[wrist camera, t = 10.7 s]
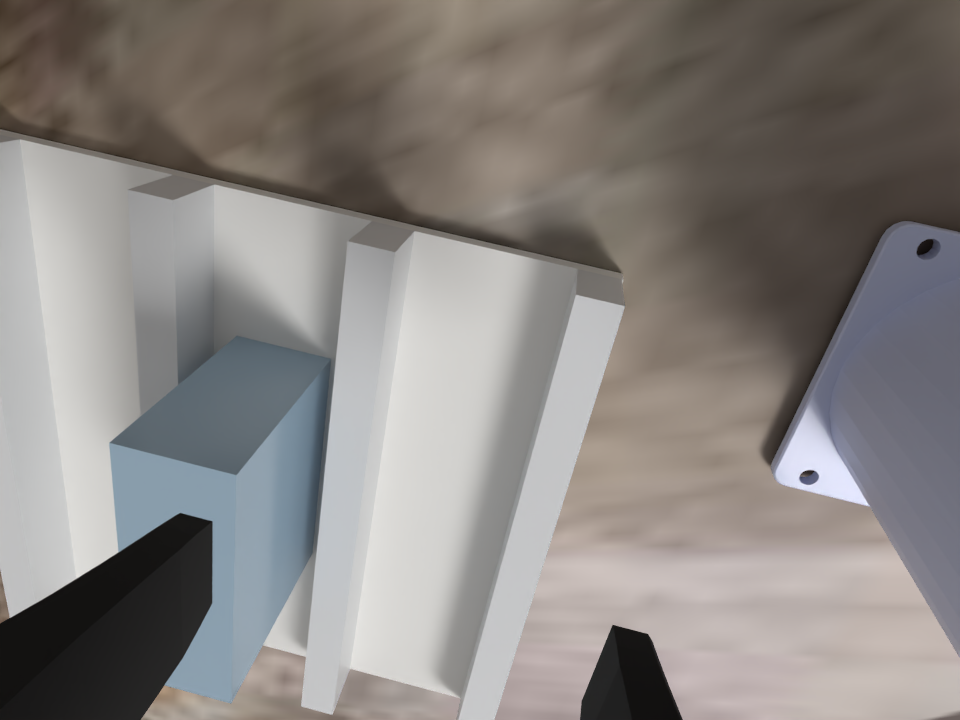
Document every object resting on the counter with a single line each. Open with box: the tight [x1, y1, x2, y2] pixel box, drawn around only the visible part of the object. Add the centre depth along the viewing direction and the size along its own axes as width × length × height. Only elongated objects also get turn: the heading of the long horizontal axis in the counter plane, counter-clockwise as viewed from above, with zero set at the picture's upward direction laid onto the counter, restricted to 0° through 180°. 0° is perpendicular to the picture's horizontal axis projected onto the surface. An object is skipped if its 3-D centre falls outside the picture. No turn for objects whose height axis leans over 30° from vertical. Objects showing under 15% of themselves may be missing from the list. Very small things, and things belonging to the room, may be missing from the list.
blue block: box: [109, 336, 331, 703], centre depth 19 cm, size 3×8×6 cm, turn 169°
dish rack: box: [0, 129, 625, 720], centre depth 21 cm, size 18×18×2 cm
